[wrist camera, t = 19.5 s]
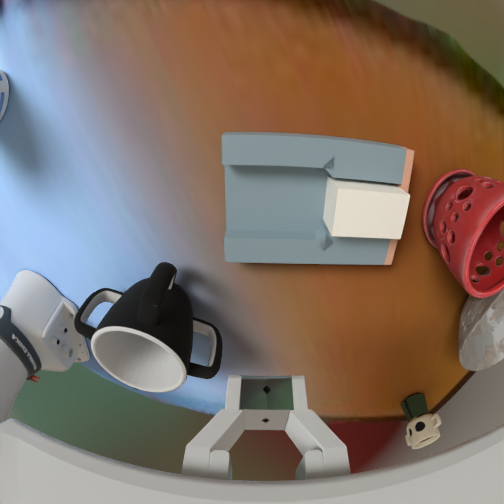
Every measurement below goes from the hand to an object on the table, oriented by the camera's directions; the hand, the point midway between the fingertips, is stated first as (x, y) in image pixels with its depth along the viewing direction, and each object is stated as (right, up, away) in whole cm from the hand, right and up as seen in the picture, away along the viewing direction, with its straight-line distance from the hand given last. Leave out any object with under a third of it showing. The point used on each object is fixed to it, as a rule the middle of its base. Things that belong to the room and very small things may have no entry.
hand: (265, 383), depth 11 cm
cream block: (+12, +11, +20) cm, 26 cm away
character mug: (+38, -30, +44) cm, 65 cm away
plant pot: (+27, +11, +21) cm, 36 cm away
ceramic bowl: (+41, -1, +27) cm, 50 cm away
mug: (-14, -2, +29) cm, 32 cm away
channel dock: (+7, +12, +21) cm, 25 cm away
